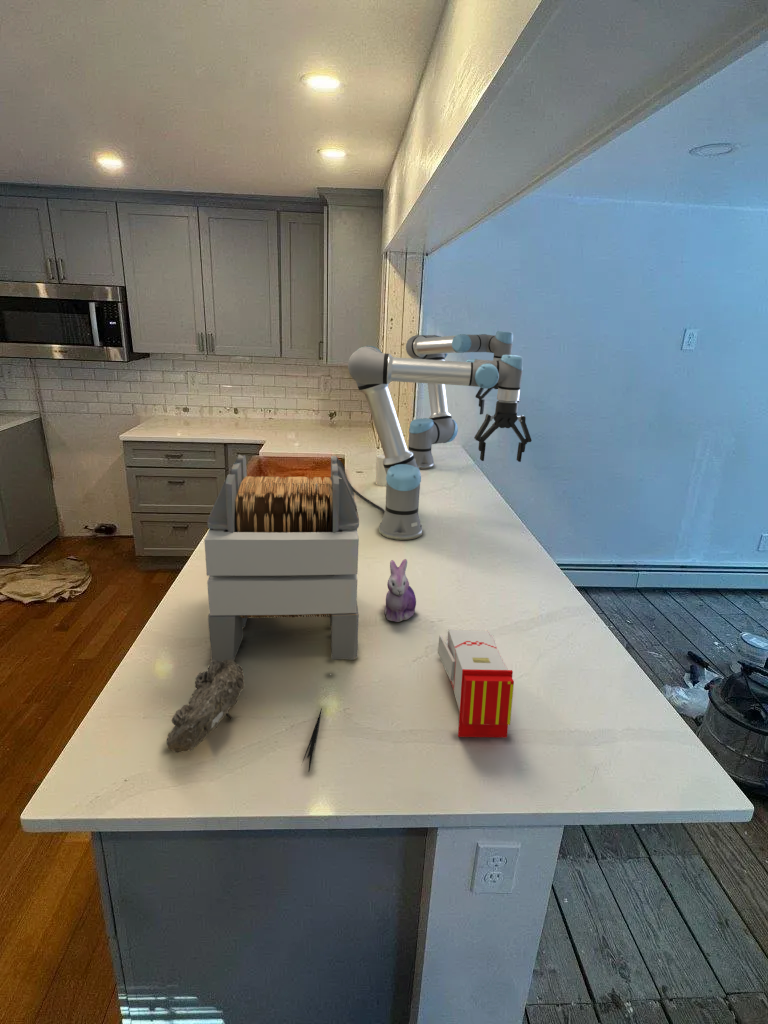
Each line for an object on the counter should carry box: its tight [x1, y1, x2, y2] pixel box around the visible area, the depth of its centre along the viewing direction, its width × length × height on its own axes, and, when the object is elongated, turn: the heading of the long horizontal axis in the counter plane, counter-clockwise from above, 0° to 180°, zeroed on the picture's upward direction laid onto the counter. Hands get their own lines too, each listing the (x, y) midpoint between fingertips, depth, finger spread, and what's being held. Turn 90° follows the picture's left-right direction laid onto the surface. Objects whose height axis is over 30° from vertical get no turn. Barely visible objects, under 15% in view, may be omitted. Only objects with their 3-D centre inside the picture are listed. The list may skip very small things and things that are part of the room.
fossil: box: [166, 659, 245, 754], centre depth 106 cm, size 22×10×15 cm
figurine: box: [384, 558, 417, 623], centre depth 145 cm, size 9×10×15 cm
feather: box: [301, 673, 332, 771], centre depth 108 cm, size 2×28×2 cm
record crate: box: [204, 454, 360, 662], centre depth 134 cm, size 34×33×41 cm
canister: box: [375, 454, 387, 487], centre depth 254 cm, size 7×7×13 cm
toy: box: [437, 628, 515, 738], centre depth 117 cm, size 12×13×30 cm
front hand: (500, 460), depth 204 cm, fingers open, 13 cm apart
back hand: (495, 416), depth 258 cm, fingers open, 13 cm apart
